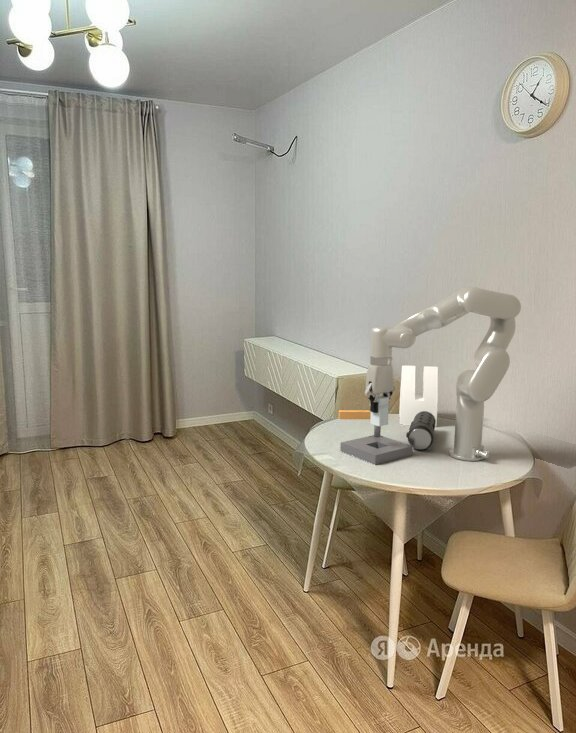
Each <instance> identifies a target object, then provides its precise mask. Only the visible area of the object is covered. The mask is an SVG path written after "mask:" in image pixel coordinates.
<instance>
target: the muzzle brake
mask: <svg viewBox="0 0 576 733" xmlns="http://www.w3.org/2000/svg"><path fill="white" fill-rule="evenodd" d="M435 424H436V425H437V423H436V420H435V417H434V416H433V415H432V414H431V413H430V412H427V411H422V412H419V413H418V414H417V415H416V416H415V418H414V420H413V421H412V422H411V425H410V426H409V429H408V430H409V431H408V432H406V434H405V436H406V438H407V440H408V443H409V444H408V445H411V446H413V448H412V449H415V450H419V451H422V450H427V449H428V448H430V447H431V446H432V444H433V442H434V439H435V438H434V437H435V430H436V427H435Z"/></svg>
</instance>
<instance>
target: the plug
mask: <svg viewBox="0 0 576 733" xmlns="http://www.w3.org/2000/svg"><path fill="white" fill-rule="evenodd" d="M374 396H375V395H373V397H374ZM377 402H378V413H373V412H371V419H369V421H370V423H369V424H370V425H376V426H381V427H383V426H387V425H389V411H390V407H391V404H390V400H389V397H385V396H383V395H380V394H378V398H377Z"/></svg>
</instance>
